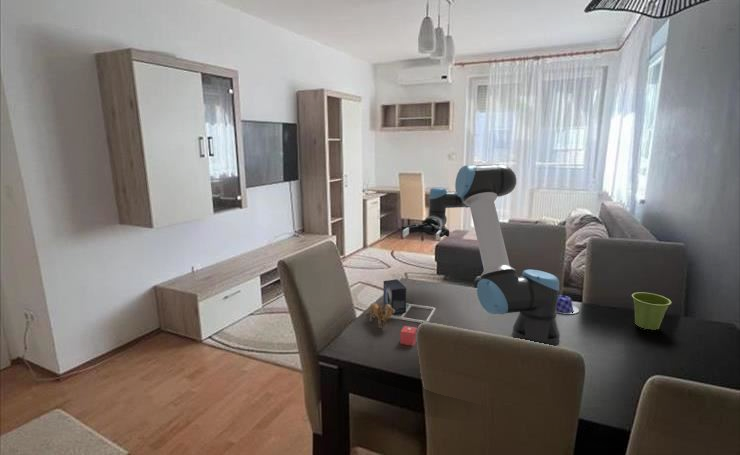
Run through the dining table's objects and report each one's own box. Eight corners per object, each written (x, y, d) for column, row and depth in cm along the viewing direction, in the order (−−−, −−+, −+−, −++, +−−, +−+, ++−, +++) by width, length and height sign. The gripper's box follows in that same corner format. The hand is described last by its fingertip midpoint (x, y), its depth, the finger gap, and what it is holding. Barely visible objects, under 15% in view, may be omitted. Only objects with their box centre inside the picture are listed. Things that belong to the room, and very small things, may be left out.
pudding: (584, 315, 160) (586, 302, 159) (554, 315, 160) (555, 303, 158) (569, 303, 172) (570, 291, 171) (541, 303, 171) (542, 292, 170)
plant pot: (620, 324, 152) (624, 295, 149) (639, 317, 157) (643, 290, 155) (654, 337, 141) (659, 307, 139) (673, 330, 147) (678, 301, 144)
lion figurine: (396, 327, 149) (397, 304, 147) (385, 331, 145) (386, 308, 144) (371, 314, 160) (371, 293, 158) (360, 318, 157) (360, 296, 155)
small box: (382, 304, 168) (382, 280, 165) (397, 302, 169) (397, 278, 167) (390, 314, 158) (391, 289, 155) (406, 312, 159) (407, 287, 157)
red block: (416, 340, 139) (417, 326, 138) (413, 346, 135) (413, 331, 134) (404, 337, 141) (404, 324, 140) (400, 343, 137) (400, 329, 136)
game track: (435, 309, 165) (435, 307, 164) (427, 323, 152) (427, 321, 152) (387, 302, 172) (387, 300, 172) (375, 315, 159) (375, 313, 159)
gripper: (460, 235, 177) (450, 247, 158) (405, 231, 186) (390, 241, 167) (460, 219, 176) (451, 228, 156) (405, 215, 185) (390, 223, 165)
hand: (419, 235), depth 162 cm, fingers open, 13 cm apart
